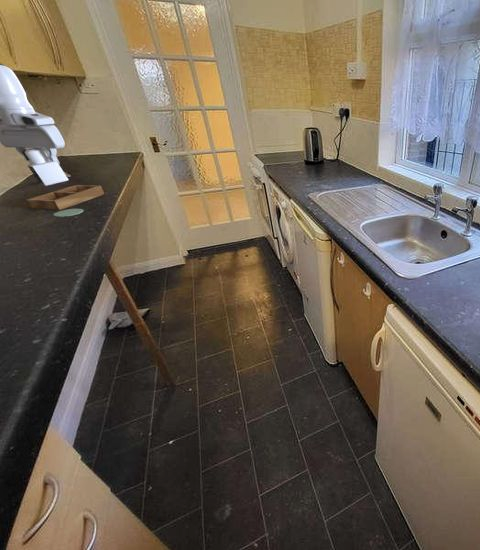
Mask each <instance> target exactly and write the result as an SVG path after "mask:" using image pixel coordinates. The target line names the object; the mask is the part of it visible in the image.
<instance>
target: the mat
mask: <svg viewBox="0 0 480 550" xmlns="http://www.w3.org/2000/svg"><path fill="white" fill-rule="evenodd" d="M83 212H84V209H83V208H69V209H62V210H58V211H57V212H54V213H53V214H52V216H54V217H57V218H64V217H65V216H66V217H72V216H75V215H80V214H81V213H83ZM66 217H65V218H66Z"/></svg>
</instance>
